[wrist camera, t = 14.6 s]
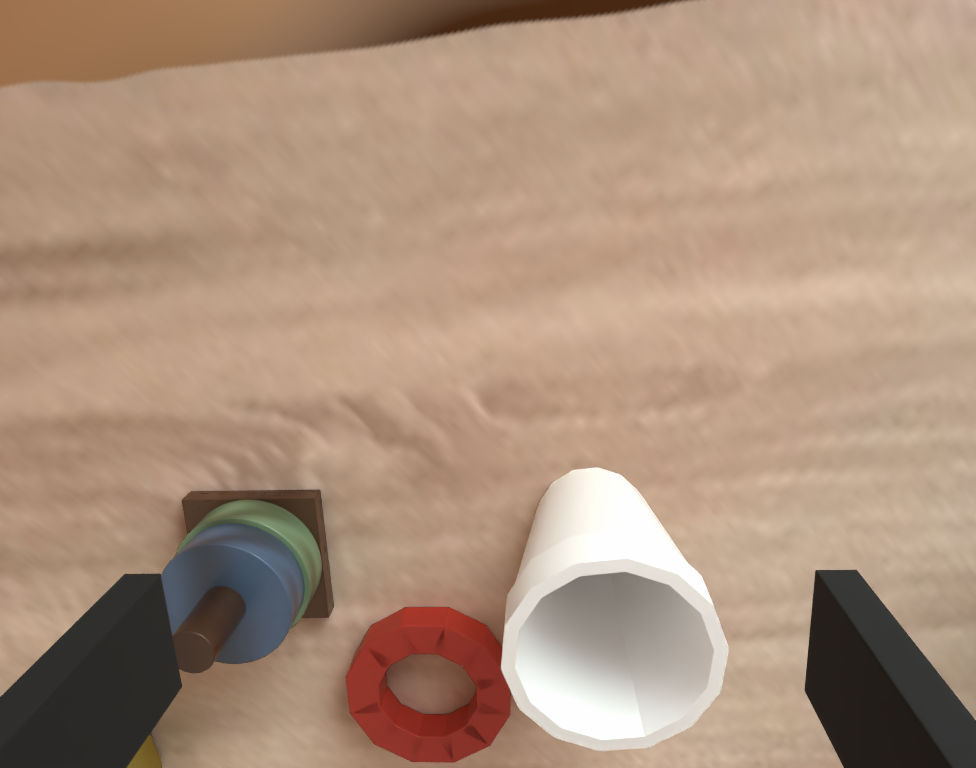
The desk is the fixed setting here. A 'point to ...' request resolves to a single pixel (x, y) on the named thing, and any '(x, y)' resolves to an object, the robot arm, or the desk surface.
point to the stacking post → (245, 574)
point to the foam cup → (609, 621)
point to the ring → (408, 727)
